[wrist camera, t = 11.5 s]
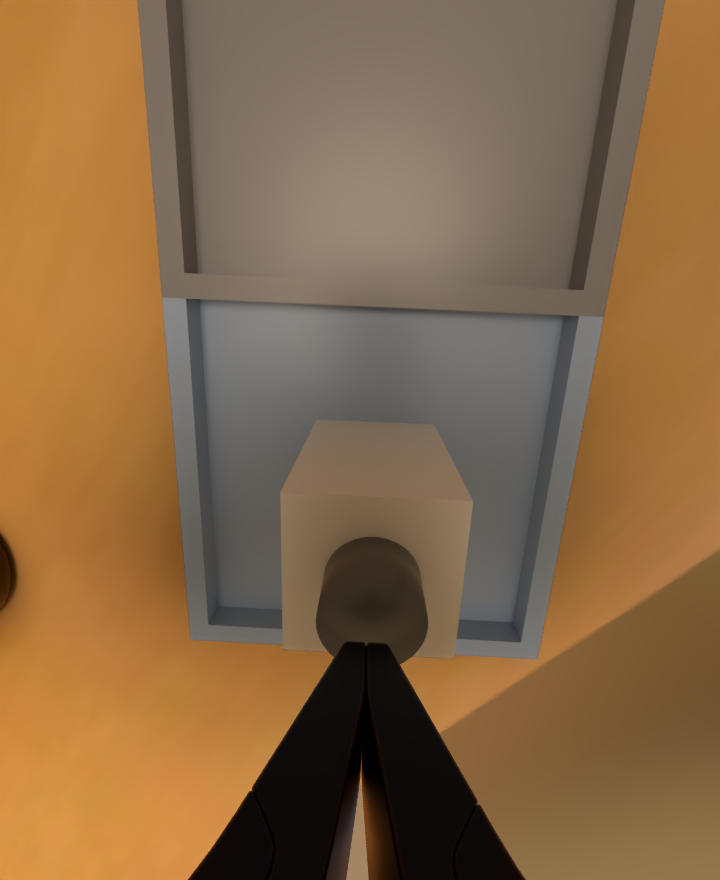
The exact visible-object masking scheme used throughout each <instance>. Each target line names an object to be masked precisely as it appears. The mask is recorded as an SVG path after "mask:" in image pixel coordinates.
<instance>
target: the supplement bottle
mask: <svg viewBox="0 0 720 880" xmlns="http://www.w3.org/2000/svg"><path fill="white" fill-rule="evenodd" d="M10 583H11V570H10V564H9V560H8V557H7V554H6V552H5V550H4V548H3V546H2V544H1V542H0V609H1V608H2V606H3V605H4V603H5V601H6V599H7V596H8V593H9V589H10Z"/></svg>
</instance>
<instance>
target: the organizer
mask: <svg viewBox="0 0 720 880" xmlns="http://www.w3.org/2000/svg"><path fill="white" fill-rule="evenodd" d="M664 3H665V0H138V12H139V24H140V36H141V48H142V60H143V72H144V85H145V97H146V109H147V121H148V133H149V145H150V157H151V169H152V181H153V193H154V205H155V217H156V229H157V241H158V253H159V265H160V278H161V290H162V302H163V314H164V326H165V338H166V350H167V362H168V374H169V386H170V398H171V410H172V422H173V434H174V446H175V459H176V471H177V483H178V495H179V507H180V519H181V531H182V543H183V555H184V567H185V579H186V591H187V603H188V615H189V627H190V639H191V640H204V641H222V642H239V643H257V644H275V645H283V631H282V567H281V502H280V492H281V490H282V488H283V486H284V484H285V482H286V480H287V478H288V476H289V474H290V472H291V470H292V468H293V466H294V464H295V462H296V460H297V458H298V456H299V454H300V452H301V450H302V448H303V446H304V444H305V442H306V440H307V438H308V436H309V434H310V432H311V430H312V428H313V426H314V424H315V422H316V420H317V419H325V420H347V421H370V422H393V423H415V424H434V425H435V427H436V429H437V431H438V433H439V435H440V437H441V439H442V441H443V443H444V444H445V446H446V448H447V450H448V452H449V454H450V456H451V458H452V460H453V462H454V464H455V466H456V468H457V470H458V472H459V474H460V476H461V478H462V480H463V482H464V484H465V486H466V488H467V490H468V492H469V494H470V496H471V498H472V500H473V508H472V516H471V524H470V533H469V541H468V549H467V557H466V566H465V574H464V582H463V590H462V598H461V607H460V615H459V623H458V631H457V640H456V648H455V655H468V656H486V657H503V658H521V659H538V654H539V649H540V644H541V638H542V633H543V628H544V623H545V618H546V613H547V607H548V602H549V597H550V592H551V587H552V582H553V576H554V571H555V566H556V561H557V556H558V551H559V545H560V540H561V535H562V530H563V525H564V520H565V515H566V509H567V504H568V499H569V494H570V489H571V484H572V478H573V473H574V468H575V463H576V458H577V453H578V447H579V442H580V437H581V432H582V427H583V422H584V416H585V411H586V406H587V401H588V396H589V391H590V385H591V380H592V375H593V370H594V365H595V360H596V354H597V349H598V344H599V339H600V334H601V329H602V324H603V318H604V313H605V308H606V303H607V298H608V293H609V287H610V282H611V277H612V272H613V267H614V262H615V256H616V251H617V246H618V241H619V236H620V231H621V225H622V220H623V215H624V210H625V205H626V200H627V194H628V189H629V184H630V179H631V174H632V169H633V163H634V158H635V153H636V148H637V143H638V138H639V133H640V127H641V122H642V117H643V112H644V107H645V102H646V96H647V91H648V86H649V81H650V76H651V71H652V65H653V60H654V55H655V50H656V45H657V40H658V34H659V29H660V24H661V19H662V14H663V9H664Z"/></svg>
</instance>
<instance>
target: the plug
mask: <svg viewBox="0 0 720 880" xmlns="http://www.w3.org/2000/svg"><path fill="white" fill-rule="evenodd" d="M280 502H281V567H282V631H283V650H297V651H316V652H329V653H330V654H331V655H332V656H334V657H335V656H336V654H337V653H338V651H339V650H340V648H341V647H342V645H343V644H344V643H345V642H347V641H351V642H364V643H365V645H367V644H368V643H385V644H387V645H388V646H389V647H390V649H391V651H392V652H393V654H394V656H395V658H396V659H397V661H398V663H399V664H401V663H403V662H405V661H406V660H408V659H409V658H411V657H428V658H447V659H454V656H455V648H456V640H457V631H458V623H459V615H460V607H461V598H462V590H463V582H464V574H465V566H466V557H467V549H468V541H469V533H470V524H471V516H472V508H473V500H472V498H471V496H470V494H469V492H468V490H467V488H466V486H465V484H464V482H463V480H462V478H461V476H460V474H459V472H458V470H457V468H456V466H455V464H454V462H453V460H452V458H451V456H450V454H449V452H448V450H447V448H446V446H445V444H444V443H443V441H442V439H441V437H440V435H439V433H438V431H437V429H436V427H435V425H434V424H415V423H393V422H370V421H347V420H325V419H317V420H316V422H315V424H314V426H313V428H312V430H311V432H310V434H309V436H308V438H307V440H306V442H305V444H304V446H303V448H302V450H301V452H300V454H299V456H298V458H297V460H296V462H295V464H294V466H293V468H292V470H291V472H290V474H289V476H288V478H287V480H286V482H285V484H284V486H283V488H282V490H281V492H280Z"/></svg>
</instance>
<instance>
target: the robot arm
mask: <svg viewBox="0 0 720 880" xmlns="http://www.w3.org/2000/svg"><path fill="white" fill-rule="evenodd" d="M361 756H362V793H363V808H364V821H365V834H366V847H367V862H368V875H369V880H526V879H525V878H524V877H523V875H522V874H521V872H520V871H519V869H518V868H517V866H516V864H515V863H514V861H513V860H512V858H511V856H510V855H509V853H508V851H507V850H506V848H505V847H504V845H503V843H502V841H501V840H500V838H499V836H498V835H497V833H496V831H495V830H494V828H493V826H492V825H491V823H490V821H489V819H488V818H487V816H486V814H485V812H484V811H483V809H482V807H481V806H480V805H477V803H478V801H477V799H476V797H475V795H474V794H473V792H472V790H471V788H470V787H469V785H468V783H467V781H466V780H465V778H464V776H463V774H462V773H461V771H460V769H459V767H458V766H457V764H456V762H455V761H454V759H453V757H452V755H451V754H450V752H449V750H448V748H447V746H446V745H445V743H444V741H443V739H442V738H441V736H440V734H439V732H438V731H437V729H436V727H435V726H434V724H433V722H432V720H431V719H430V717H429V715H428V713H427V712H426V710H425V708H424V706H423V705H422V703H421V701H420V699H419V698H418V696H417V694H416V692H415V691H414V689H413V687H412V685H411V684H410V682H409V680H408V678H407V677H406V675H405V673H404V671H403V670H402V668H401V666H400V665H399V663H398V661H397V659H396V658H395V656H394V654H393V652H392V651H391V649H390V647H389V646H388V645H387V644H385V643H368V644H367V645H365V643H364V642H351V641H347V642H345V643H344V644H343V645H342V647H341V648H340V650H339V651H338V653H337V654H336V656H335V658H334V659H333V661H332V662H331V664H330V665H329V667H328V669H327V670H326V672H325V673H324V675H323V676H322V678H321V680H320V681H319V683H318V684H317V686H316V687H315V689H314V691H313V692H312V694H311V695H310V697H309V698H308V700H307V702H306V703H305V705H304V706H303V708H302V709H301V711H300V713H299V714H298V716H297V717H296V719H295V720H294V722H293V724H292V725H291V727H290V728H289V730H288V731H287V733H286V735H285V736H284V738H283V739H282V741H281V742H280V744H279V746H278V747H277V749H276V750H275V752H274V754H273V755H272V757H271V758H270V760H269V761H268V763H267V765H266V766H265V768H264V769H263V771H262V772H261V774H260V776H259V777H258V779H257V780H256V782H255V783H254V785H253V787H252V791H250V792H248V794H247V796H246V797H245V799H244V800H243V802H242V803H241V805H240V807H239V808H238V810H237V811H236V813H235V814H234V816H233V817H232V819H231V820H230V822H229V823H228V825H227V826H226V828H225V829H224V831H223V832H222V834H221V835H220V837H219V838H218V840H217V841H216V842H215V844H214V845H213V847H212V848H211V850H210V851H209V852H208V854H207V855H206V856H205V858H204V859H203V860H202V862H201V863H200V864H199V866H198V867H197V868H196V870H195V871H194V872H193V874H192V875H191V876H190V878H189V879H188V880H346V877H347V870H348V863H349V856H350V848H351V841H352V834H353V827H354V820H355V813H356V806H357V799H358V792H359V783H360V773H361Z"/></svg>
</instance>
